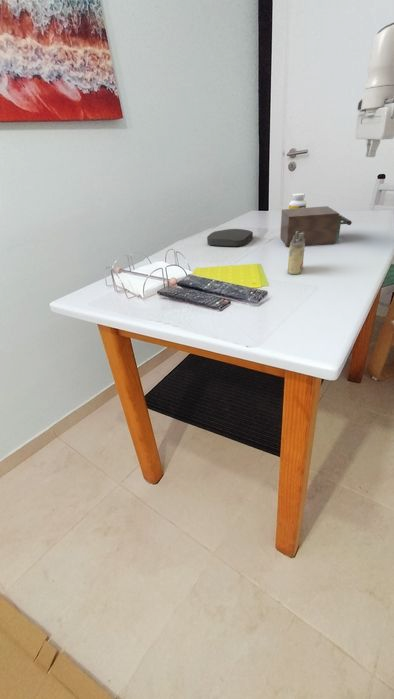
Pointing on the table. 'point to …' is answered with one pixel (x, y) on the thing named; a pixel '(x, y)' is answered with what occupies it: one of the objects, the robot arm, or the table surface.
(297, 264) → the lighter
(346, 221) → the drawer
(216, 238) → the media streaming box
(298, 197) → the pill bottle
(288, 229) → the cabinet
